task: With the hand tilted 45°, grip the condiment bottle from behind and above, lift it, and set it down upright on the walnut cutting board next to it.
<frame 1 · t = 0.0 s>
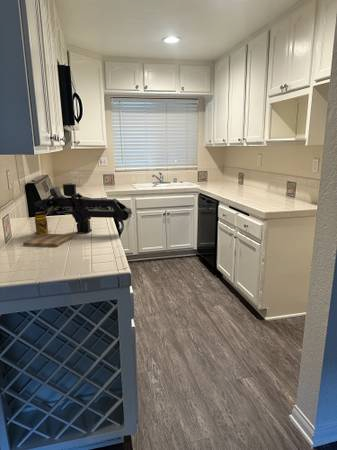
hand: (39, 202, 174), 17 cm above the countertop, tool horizontal, fingers open, 9 cm apart
walnut board: (49, 241, 157), on the countertop
condiment: (41, 234, 172), on the countertop
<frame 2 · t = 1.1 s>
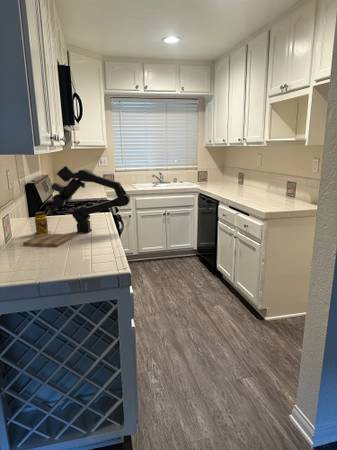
hand: (52, 208, 169), 14 cm above the countertop, tool tilted 45°, fingers open, 9 cm apart
nothing on the countertop moved.
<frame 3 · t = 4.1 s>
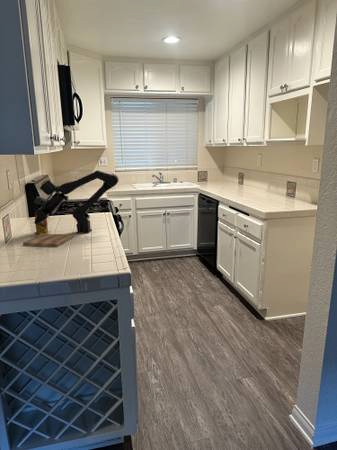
hand: (36, 222, 170), 7 cm above the countertop, tool tilted 45°, fingers closed on condiment, 6 cm apart
condiment: (41, 234, 172), on the countertop, touching gripper
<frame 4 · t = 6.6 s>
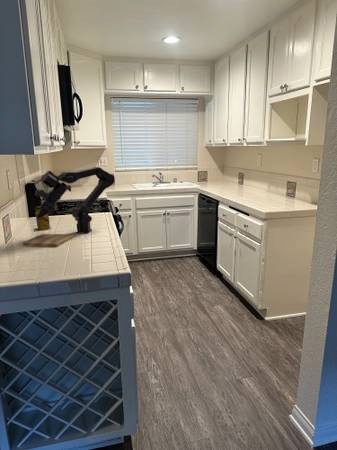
hand: (37, 216, 158), 12 cm above the countertop, tool tilted 45°, fingers closed on condiment, 6 cm apart
condiment: (42, 229, 160), point 5 cm above the countertop, touching gripper
when the fingers open (9 cm above the countertop, at t = 8.6 s): condiment stays where it is, resting on walnut board.
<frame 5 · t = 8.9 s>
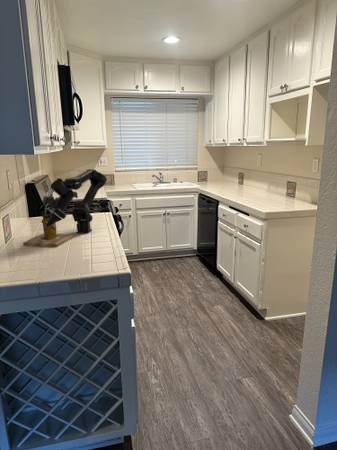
hand: (44, 224, 154), 9 cm above the countertop, tool tilted 45°, fingers open, 9 cm apart
condiment: (49, 238, 157), point 1 cm above the countertop, touching walnut board
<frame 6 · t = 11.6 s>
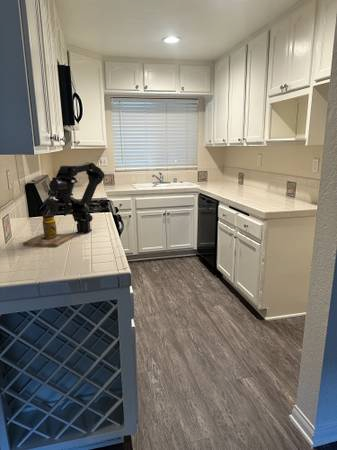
hand: (58, 216, 163), 11 cm above the countertop, tool tilted 25°, fingers open, 9 cm apart
nothing on the countertop moved.
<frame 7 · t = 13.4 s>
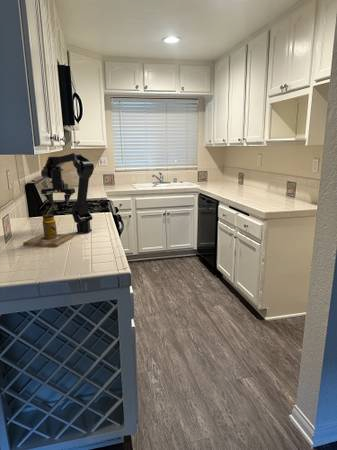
hand: (59, 205, 181), 13 cm above the countertop, tool pointing down, fingers open, 9 cm apart
nothing on the countertop moved.
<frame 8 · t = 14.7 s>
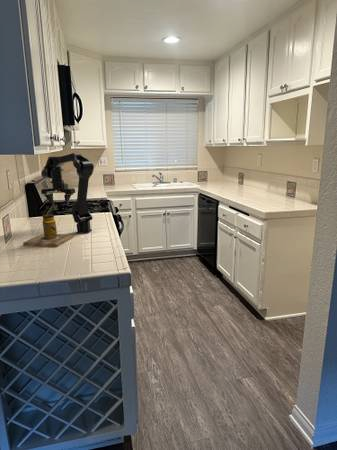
hand: (59, 205, 181), 13 cm above the countertop, tool pointing down, fingers open, 9 cm apart
nothing on the countertop moved.
at the end: condiment inside the target area on the walnut board (0.1 cm from its centre), point 1.3 cm above the walnut board's base; condiment tilted 0°; the gripper is holding nothing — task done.
